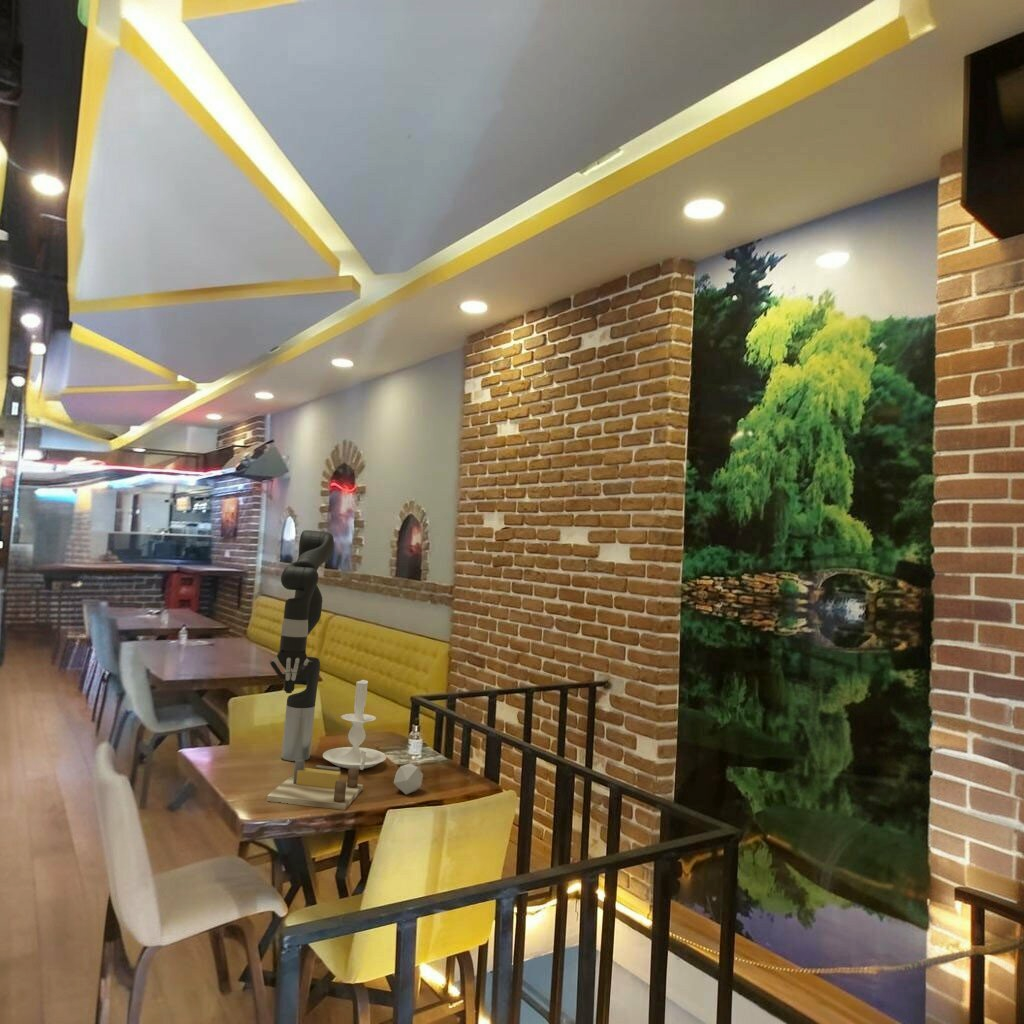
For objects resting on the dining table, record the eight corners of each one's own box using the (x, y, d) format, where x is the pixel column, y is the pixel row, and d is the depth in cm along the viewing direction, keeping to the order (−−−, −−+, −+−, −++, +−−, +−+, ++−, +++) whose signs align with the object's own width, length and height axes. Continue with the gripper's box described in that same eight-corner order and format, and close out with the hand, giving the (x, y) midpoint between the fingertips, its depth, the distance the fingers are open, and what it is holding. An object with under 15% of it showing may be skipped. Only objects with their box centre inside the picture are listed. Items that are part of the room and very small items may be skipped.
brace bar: (291, 783, 219) (293, 761, 219) (295, 780, 222) (297, 758, 222) (336, 788, 218) (338, 766, 218) (339, 785, 221) (341, 763, 221)
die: (425, 797, 224) (430, 765, 230) (407, 787, 219) (412, 755, 225) (404, 801, 228) (409, 770, 234) (386, 791, 222) (391, 759, 229)
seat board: (290, 781, 226) (292, 759, 226) (362, 789, 224) (364, 767, 224) (266, 801, 208) (269, 777, 208) (344, 810, 206) (347, 785, 206)
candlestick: (329, 780, 230) (338, 687, 232) (317, 757, 253) (325, 673, 254) (395, 778, 238) (403, 688, 239) (377, 755, 261) (385, 674, 262)
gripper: (314, 632, 230) (308, 690, 229) (269, 631, 224) (263, 690, 224) (319, 636, 224) (313, 695, 223) (273, 635, 218) (267, 695, 217)
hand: (288, 692), depth 223 cm, fingers closed
